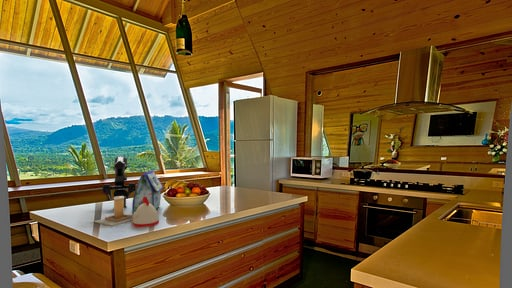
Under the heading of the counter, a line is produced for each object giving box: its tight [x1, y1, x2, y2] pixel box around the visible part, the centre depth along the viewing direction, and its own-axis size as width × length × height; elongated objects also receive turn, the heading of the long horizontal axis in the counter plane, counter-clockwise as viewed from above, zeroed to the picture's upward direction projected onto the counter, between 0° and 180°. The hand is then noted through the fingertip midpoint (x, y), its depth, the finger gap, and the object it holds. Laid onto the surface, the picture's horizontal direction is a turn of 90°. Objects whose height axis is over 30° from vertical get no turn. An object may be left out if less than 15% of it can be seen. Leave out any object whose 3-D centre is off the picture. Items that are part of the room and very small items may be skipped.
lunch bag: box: [131, 170, 164, 215], centre depth 192 cm, size 22×17×26 cm
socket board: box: [94, 213, 133, 227], centre depth 168 cm, size 20×16×2 cm
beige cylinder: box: [113, 196, 125, 219], centre depth 168 cm, size 6×6×13 cm
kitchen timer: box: [132, 197, 160, 228], centre depth 162 cm, size 14×14×15 cm
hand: (119, 199), depth 175 cm, fingers open, 9 cm apart
